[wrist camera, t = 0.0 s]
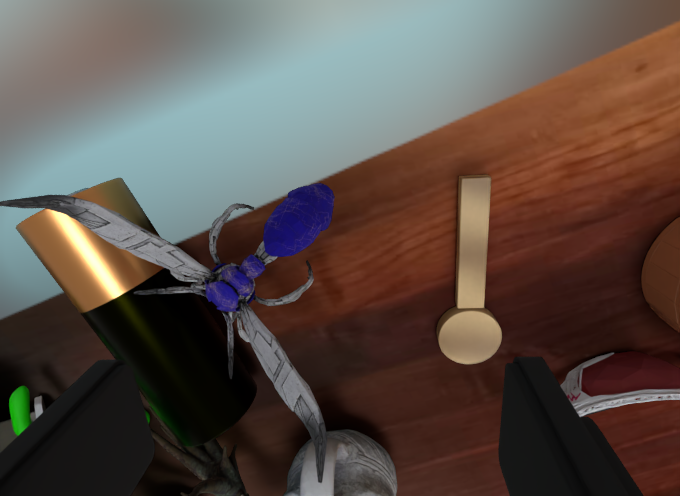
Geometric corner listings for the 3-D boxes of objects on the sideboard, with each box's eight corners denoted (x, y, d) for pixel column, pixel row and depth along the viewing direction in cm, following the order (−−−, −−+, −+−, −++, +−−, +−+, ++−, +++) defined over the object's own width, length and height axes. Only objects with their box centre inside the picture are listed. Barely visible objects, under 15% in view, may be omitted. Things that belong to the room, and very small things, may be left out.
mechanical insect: (151, 198, 34) (-42, 299, 21) (243, 67, 27) (38, 99, 14) (314, 350, 36) (231, 522, 24) (436, 267, 30) (410, 445, 17)
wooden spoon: (438, 176, 29) (440, 180, 28) (508, 173, 29) (514, 176, 27) (436, 355, 34) (438, 364, 33) (495, 355, 34) (499, 364, 33)
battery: (275, 387, 33) (132, 163, 28) (207, 460, 29) (19, 210, 23) (231, 378, 39) (102, 187, 33) (167, 440, 34) (5, 230, 28)
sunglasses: (783, 358, 31) (846, 414, 27) (672, 482, 40) (706, 540, 36) (552, 328, 32) (578, 378, 28) (493, 456, 41) (505, 510, 37)
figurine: (202, 389, 44) (319, 530, 39) (157, 431, 42) (273, 584, 37) (149, 372, 31) (316, 582, 26) (80, 431, 29) (245, 668, 24)
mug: (314, 496, 41) (295, 616, 31) (264, 397, 37) (226, 500, 28) (408, 479, 39) (418, 601, 30) (366, 373, 35) (362, 473, 26)
